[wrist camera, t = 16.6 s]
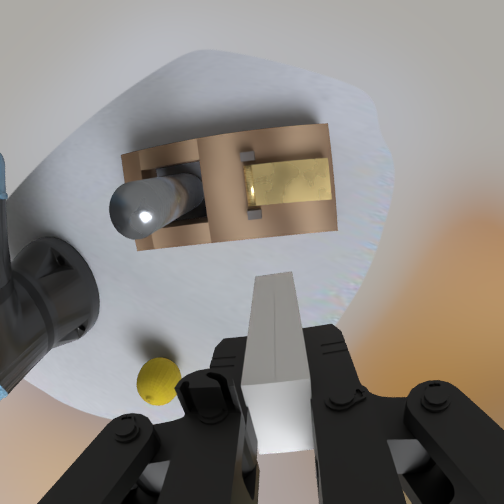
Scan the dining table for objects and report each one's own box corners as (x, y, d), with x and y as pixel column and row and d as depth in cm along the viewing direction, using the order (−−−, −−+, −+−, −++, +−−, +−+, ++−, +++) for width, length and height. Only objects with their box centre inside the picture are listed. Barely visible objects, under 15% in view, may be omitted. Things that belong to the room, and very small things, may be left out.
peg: (172, 212, 33) (115, 242, 20) (166, 176, 31) (105, 187, 19) (206, 207, 32) (165, 236, 20) (201, 170, 31) (155, 176, 19)
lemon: (143, 348, 38) (120, 384, 31) (178, 344, 37) (159, 382, 30) (159, 379, 40) (140, 416, 32) (193, 376, 39) (178, 416, 31)
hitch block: (151, 241, 34) (132, 254, 29) (137, 154, 31) (115, 154, 26) (330, 222, 32) (340, 233, 27) (321, 128, 29) (330, 121, 24)
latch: (249, 204, 28) (247, 206, 27) (244, 165, 27) (242, 166, 26) (330, 197, 26) (331, 199, 25) (326, 157, 25) (327, 157, 24)
